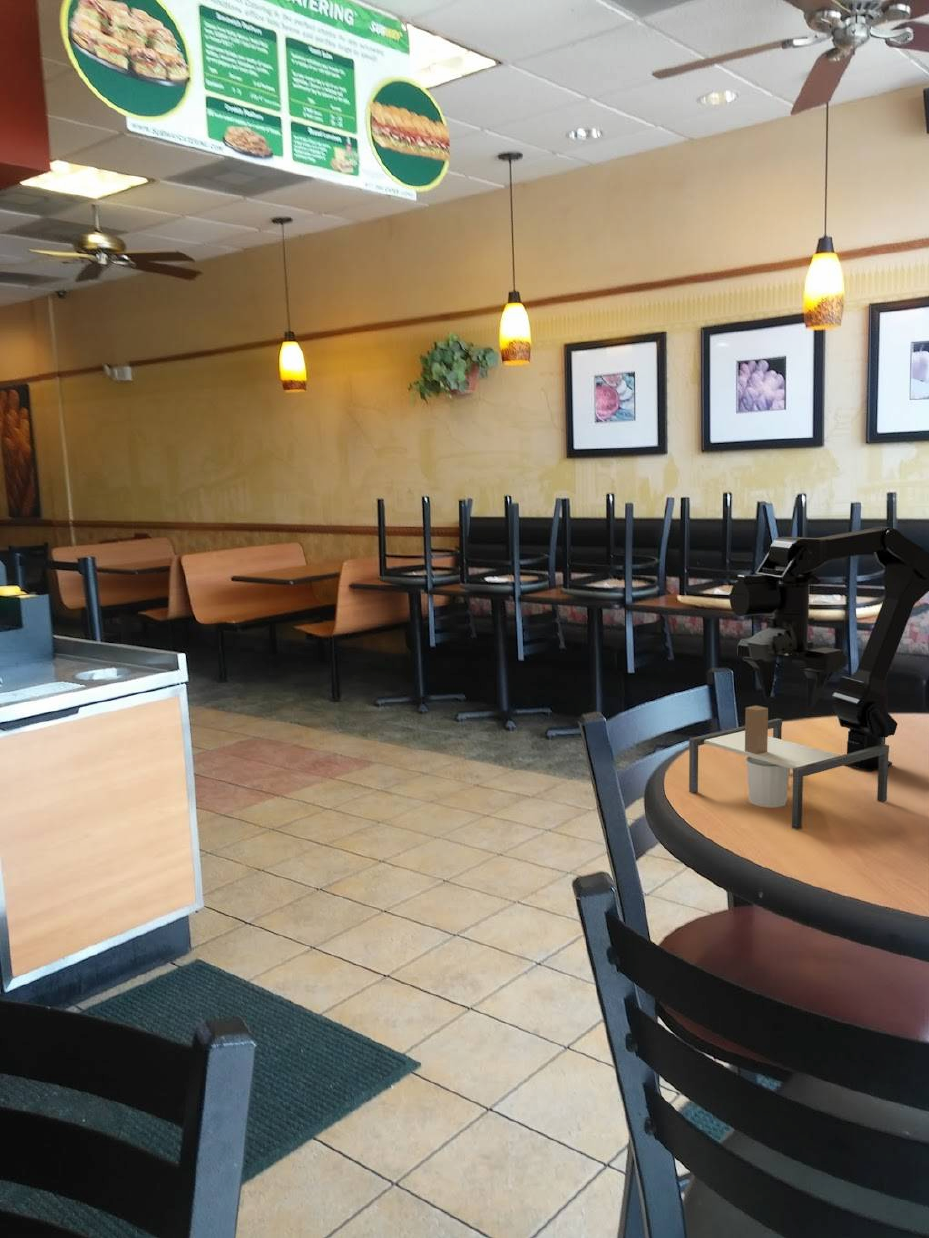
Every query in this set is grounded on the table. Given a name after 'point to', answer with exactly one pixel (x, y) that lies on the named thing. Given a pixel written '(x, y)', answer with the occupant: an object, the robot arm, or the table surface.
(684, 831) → the table surface
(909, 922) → the table surface
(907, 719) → the table surface
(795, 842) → the table surface
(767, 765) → the white cup
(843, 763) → the cover frame
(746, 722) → the sliding cover
